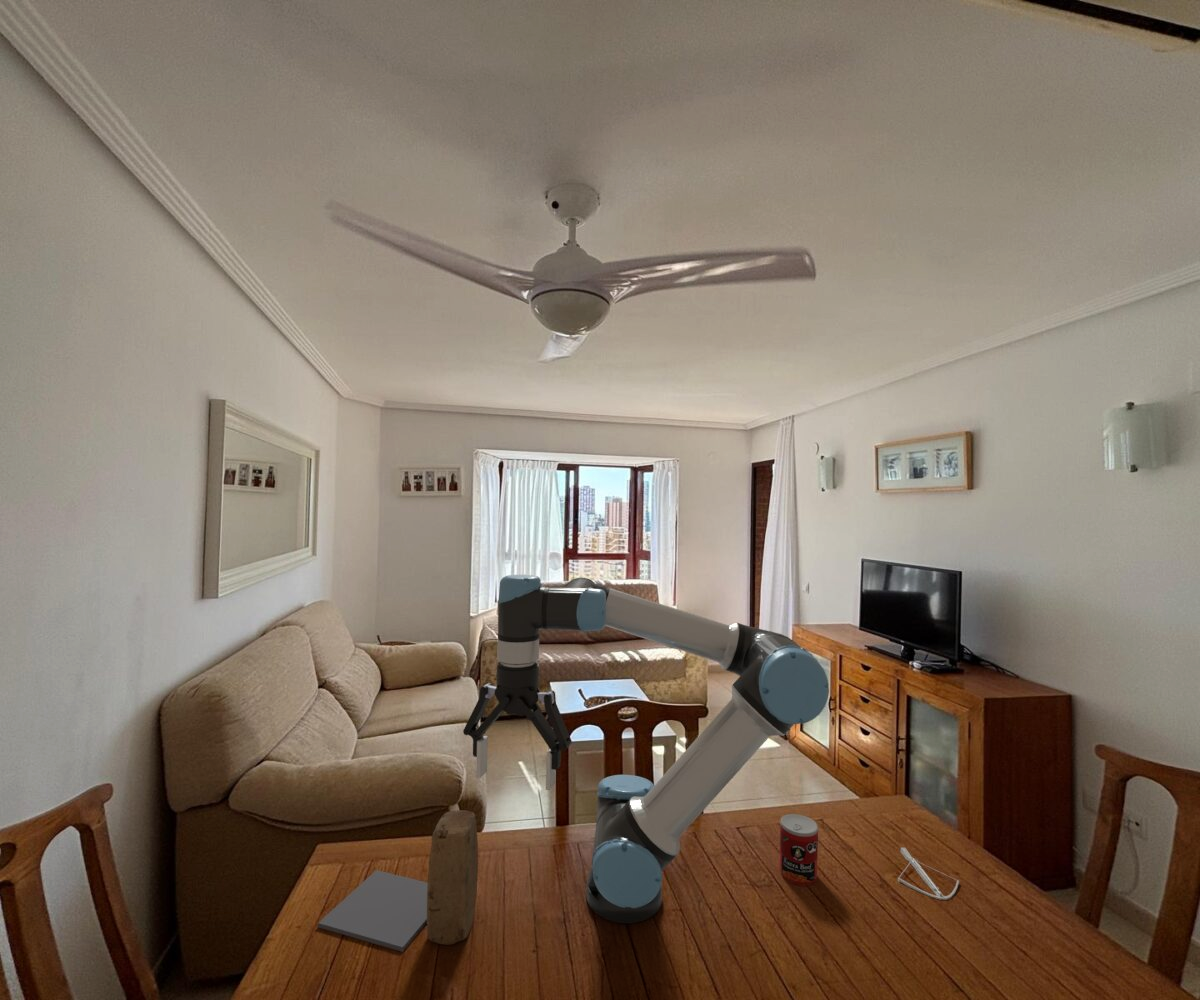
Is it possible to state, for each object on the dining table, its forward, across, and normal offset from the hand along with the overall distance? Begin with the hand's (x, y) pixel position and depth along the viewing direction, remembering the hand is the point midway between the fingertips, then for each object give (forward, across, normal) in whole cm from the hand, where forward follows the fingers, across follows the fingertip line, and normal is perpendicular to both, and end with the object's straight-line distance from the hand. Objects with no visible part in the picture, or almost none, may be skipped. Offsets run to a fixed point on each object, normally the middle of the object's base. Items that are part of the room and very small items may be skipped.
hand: (515, 780), depth 102 cm
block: (+29, +12, 0) cm, 31 cm away
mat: (+28, +26, 0) cm, 38 cm away
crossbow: (+30, -76, -46) cm, 94 cm away
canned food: (+29, -50, -37) cm, 69 cm away
